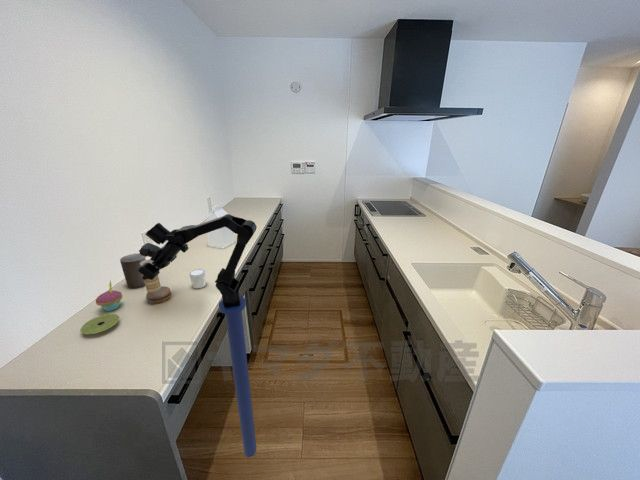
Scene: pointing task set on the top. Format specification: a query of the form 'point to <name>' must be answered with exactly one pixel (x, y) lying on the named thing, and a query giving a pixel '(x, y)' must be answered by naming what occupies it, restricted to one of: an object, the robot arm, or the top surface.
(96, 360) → the top surface
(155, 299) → the chip pile
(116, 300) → the cupcake
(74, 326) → the top surface
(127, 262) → the pillar candle
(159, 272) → the robot arm
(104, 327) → the green disc
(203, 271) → the white short cylinder
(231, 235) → the milk
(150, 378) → the top surface
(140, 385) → the top surface
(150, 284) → the chip column
